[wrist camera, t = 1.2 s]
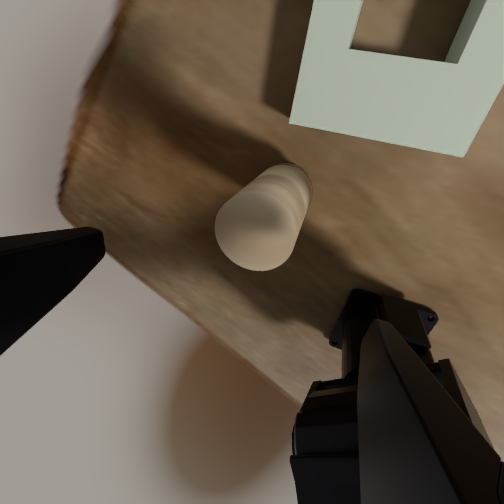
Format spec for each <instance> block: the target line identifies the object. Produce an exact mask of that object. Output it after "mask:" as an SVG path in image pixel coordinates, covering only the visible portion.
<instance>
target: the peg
mask: <svg viewBox="0 0 504 504" xmlns="http://www.w3.org/2000/svg"><path fill="white" fill-rule="evenodd" d="M312 193H313V191H312V184H311V181H310V179H309V177H308V175H307V173H306V172H305V170H304V169H303V168H301V167H300V166H298V165H295V164H291V163H277V164H274V165H271V166H270V167H268V168H266V169H265V170H264V171H263V172H262V173H261V174H260V175H259V176H258V177H257V178H255V179H254V180H253V181H252V182H250V183H249V184H248V185H247V186H245V187H244V188H243V189H242V190H241V191H239V192H238V193H237V194H236V195H234V196H233V197H232V198H231V199H229V200H228V201H227V202H226V203H225V204H224V205H223V206H222V207H221V208H220V210H219V212H218V214H217V216H216V220H215V235H216V239H217V242H218V244H219V246H220V248H221V249H222V251H223V252H224V254H225V255H226V256H227V257H228V258H229V259H230V260H231V261H233V262H234V263H236V264H237V265H239V266H241V267H243V268H246V269H249V270H254V271H267V270H271V269H274V268H276V267H278V266H280V265H281V264H283V263H284V262H285V261H286V260H287V259H288V258H289V256H290V255H291V253H292V251H293V248H294V245H295V243H296V240H297V237H298V234H299V231H300V228H301V226H302V223H303V220H304V217H305V214H306V212H307V209H308V207H309V205H310V203H311V200H312Z"/></svg>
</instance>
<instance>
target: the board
mask: <svg viewBox="0 0 504 504" xmlns="http://www.w3.org/2000/svg"><path fill="white" fill-rule="evenodd" d="M362 4H363V0H314V2H313V7H312V12H311V17H310V22H309V27H308V32H307V37H306V42H305V47H304V52H303V56H302V61H301V66H300V71H299V76H298V81H297V86H296V91H295V96H294V101H293V106H292V111H291V116H290V120H289V123H290V124H295V125H300V126H306V127H311V128H316V129H321V130H326V131H331V132H336V133H341V134H346V135H351V136H356V137H362V138H367V139H372V140H377V141H382V142H387V143H392V144H397V145H402V146H407V147H413V148H418V149H423V150H428V151H433V152H438V153H443V154H448V155H453V156H458V157H464V155H465V153H466V152H467V150H468V148H469V146H470V144H471V142H472V141H473V139H474V137H475V135H476V133H477V132H478V130H479V128H480V126H481V124H482V122H483V121H484V119H485V117H486V115H487V113H488V111H489V110H490V108H491V106H492V104H493V102H494V101H495V99H496V97H497V95H498V93H499V91H500V90H501V88H502V86H503V84H504V0H471V1H470V3H469V6H468V8H467V10H466V12H465V15H464V17H463V19H462V22H461V24H460V26H459V29H458V31H457V33H456V36H455V38H454V40H453V42H452V45H451V47H450V49H449V52H448V54H447V56H446V59H445V61H444V62H440V61H432V60H425V59H418V58H411V57H404V56H396V55H389V54H382V53H375V52H368V51H361V50H353V49H350V47H351V44H352V40H353V37H354V33H355V29H356V26H357V22H358V18H359V15H360V11H361V8H362Z"/></svg>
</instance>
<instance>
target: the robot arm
mask: <svg viewBox="0 0 504 504" xmlns="http://www.w3.org/2000/svg"><path fill="white" fill-rule="evenodd" d="M104 255H105V244H104V237H103V233H102V231H101V230H99V229H96V228H93V227H81V228H73V229H64V230H56V231H48V232H40V233H33V234H32V233H31V234H23V235H15V236H7V237H0V355H2V354H3V353H4V352H5V351H6V350H7V349H8V348H9V347H10V346H11V345H13V344H14V343H15V342H16V341H17V340H18V339H19V338H20V337H21V336H23V335H24V334H25V333H26V332H27V331H28V330H29V329H30V328H32V327H33V326H34V325H35V324H36V323H37V322H38V321H39V320H40V319H42V318H43V317H44V316H45V315H46V314H47V313H48V312H49V311H50V310H52V309H53V308H54V307H55V306H56V305H57V304H58V303H59V302H61V301H62V300H63V299H64V298H65V297H66V296H67V295H68V294H69V293H70V292H71V291H73V289H75V287H76V286H77V285H78V284H79V283H80V282H81V281H82V280H83V279H84V278H85V277H86V276H87V275H88V273H89V272H90V271H91V270H92V269H93V268H94V267H95V266H96V265H97V264H98V263H99V262H100V261H101V259H102V258H103V257H104ZM355 294H358V295H359V296H354V295H355ZM430 316H431V317H432V318H428V317H430ZM437 322H438V316H437V314H436V313H435V312H434V311H431V310H428V309H425V308H421V307H418V306H416V305H415V304H411V303H408V302H405V301H401V300H398V299H394V298H391V297H388V296H384V295H378V294H374V293H371V292H367V291H364V290H361V289H352V290H351V291H350V293H349V295H348V298H347V300H346V302H345V304H344V306H343V309H342V311H341V313H340V315H339V318H338V320H337V322H336V324H335V327H334V329H333V331H332V333H331V336H330V338H329V344H330V345H331V346H333V347H336V348H338V349H341V350H342V378H341V379H335V380H329V381H323V382H322V381H314V382H313V383H312V385H311V387H310V390H309V392H308V394H307V396H306V399H305V401H304V403H303V405H302V407H301V410H300V412H298V413H297V415H296V418H295V424H294V427H293V432H292V452H293V455H291V456H290V463H291V467H292V472H293V476H294V480H295V485H296V493H297V500H298V504H504V462H502V461H501V458H500V456H499V455H498V454H497V453H496V451H495V450H494V448H493V446H492V443H491V441H490V439H489V437H488V435H487V432H486V430H485V428H484V426H483V424H482V421H481V419H480V417H479V415H478V413H477V411H476V409H475V407H474V405H473V403H472V401H471V399H470V397H469V395H468V394H467V392H466V390H465V388H464V386H463V384H462V382H461V380H460V379H459V377H458V375H457V373H456V371H455V369H454V367H453V365H452V363H451V362H450V360H449V358H448V359H443V360H438V361H439V362H436V363H435V362H434V359H433V357H432V354H431V351H430V348H431V344H430V341H429V338H428V336H427V335H428V334H429V333H430V331H431V330H432V329H433V327H434V326H435V324H436V323H437ZM334 341H336V342H334Z"/></svg>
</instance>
